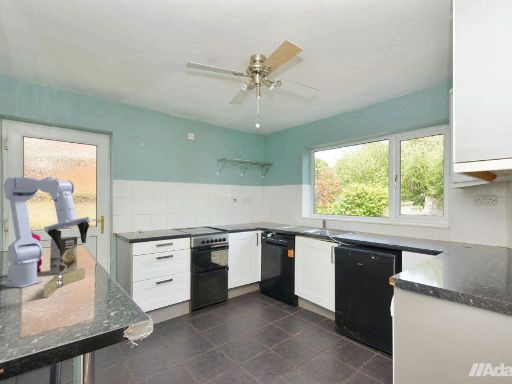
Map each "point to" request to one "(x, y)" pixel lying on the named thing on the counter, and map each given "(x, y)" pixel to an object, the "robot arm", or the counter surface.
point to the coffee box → (63, 256)
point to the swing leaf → (52, 285)
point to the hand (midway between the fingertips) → (72, 245)
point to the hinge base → (72, 277)
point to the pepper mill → (40, 258)
